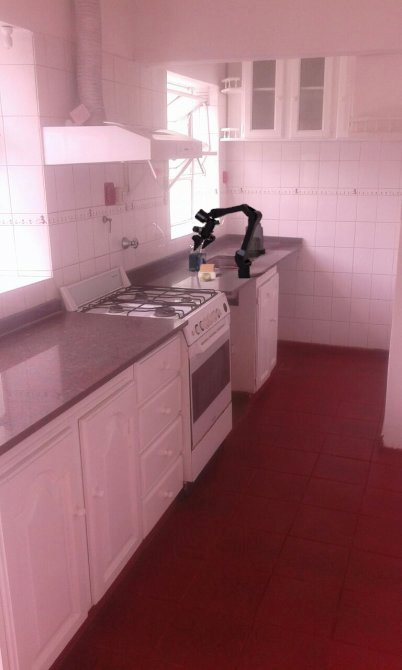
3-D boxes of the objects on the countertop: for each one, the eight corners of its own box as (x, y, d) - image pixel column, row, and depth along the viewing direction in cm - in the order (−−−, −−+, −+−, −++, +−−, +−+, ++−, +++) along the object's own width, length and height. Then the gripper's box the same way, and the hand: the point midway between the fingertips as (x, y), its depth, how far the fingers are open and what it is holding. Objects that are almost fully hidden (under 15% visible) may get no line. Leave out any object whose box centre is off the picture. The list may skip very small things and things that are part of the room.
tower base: (216, 275, 368) (216, 269, 367) (215, 278, 359) (215, 272, 358) (200, 275, 369) (200, 269, 368) (198, 278, 360) (198, 272, 359)
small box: (196, 271, 379) (196, 255, 376) (188, 271, 382) (188, 254, 380) (206, 269, 387) (206, 252, 384) (198, 268, 391) (198, 252, 388)
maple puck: (211, 279, 352) (211, 273, 351) (210, 281, 346) (210, 274, 345) (200, 280, 353) (200, 273, 351) (199, 282, 347) (199, 275, 346)
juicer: (245, 251, 458) (245, 218, 452) (267, 251, 454) (267, 218, 448) (238, 257, 430) (237, 222, 424) (260, 257, 427) (260, 222, 420)
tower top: (214, 269, 366) (214, 264, 365) (213, 272, 358) (213, 266, 357) (201, 270, 367) (201, 264, 366) (200, 272, 359) (199, 266, 358)
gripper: (206, 219, 370) (196, 241, 378) (190, 221, 355) (179, 244, 362) (220, 229, 367) (209, 251, 374) (204, 231, 352) (193, 254, 359)
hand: (198, 249), depth 368 cm, fingers open, 9 cm apart
